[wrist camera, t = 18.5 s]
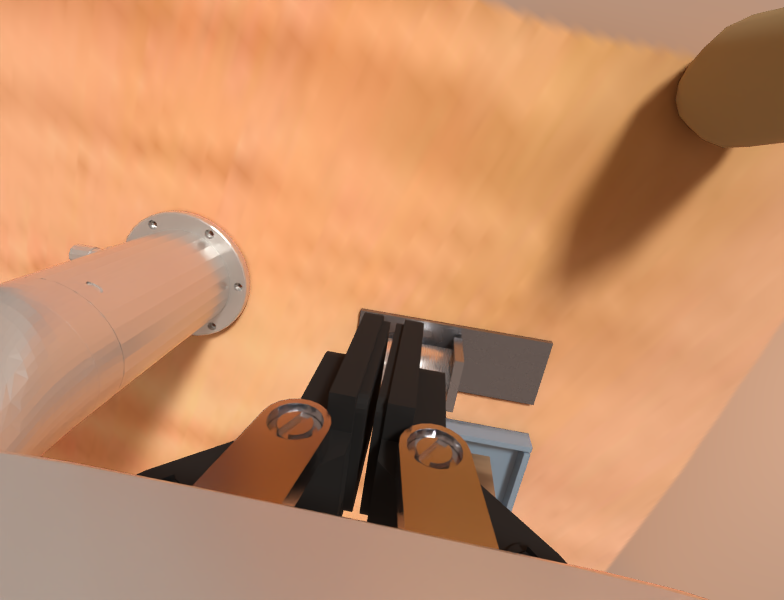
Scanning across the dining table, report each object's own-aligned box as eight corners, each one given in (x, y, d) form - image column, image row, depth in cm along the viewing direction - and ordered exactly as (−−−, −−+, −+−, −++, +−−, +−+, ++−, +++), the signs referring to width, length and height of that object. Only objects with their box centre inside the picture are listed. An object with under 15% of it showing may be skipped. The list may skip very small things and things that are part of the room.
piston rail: (354, 369, 43) (353, 372, 43) (361, 308, 41) (360, 310, 40) (532, 402, 42) (533, 404, 42) (551, 341, 40) (552, 343, 39)
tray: (407, 492, 49) (405, 507, 47) (423, 414, 44) (422, 427, 42) (503, 511, 48) (505, 527, 46) (528, 433, 44) (532, 448, 42)
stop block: (440, 480, 47) (440, 526, 41) (447, 448, 45) (448, 492, 39) (480, 488, 46) (486, 535, 41) (489, 456, 45) (496, 501, 39)
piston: (365, 368, 42) (356, 394, 38) (371, 322, 40) (363, 344, 36) (451, 384, 42) (452, 412, 37) (462, 338, 40) (464, 362, 36)
